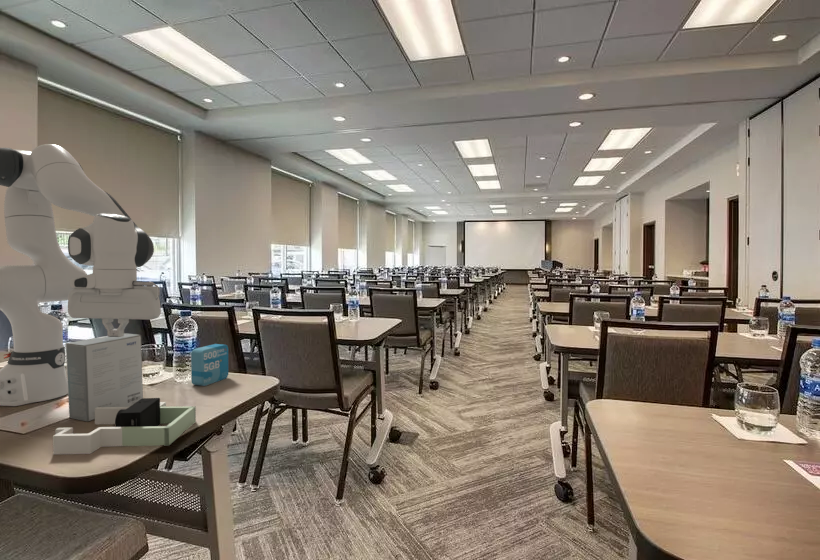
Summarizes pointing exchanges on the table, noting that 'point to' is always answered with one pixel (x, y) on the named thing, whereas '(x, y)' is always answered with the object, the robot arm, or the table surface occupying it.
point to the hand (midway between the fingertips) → (115, 336)
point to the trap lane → (125, 431)
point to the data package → (209, 364)
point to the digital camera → (140, 414)
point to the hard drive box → (103, 374)
